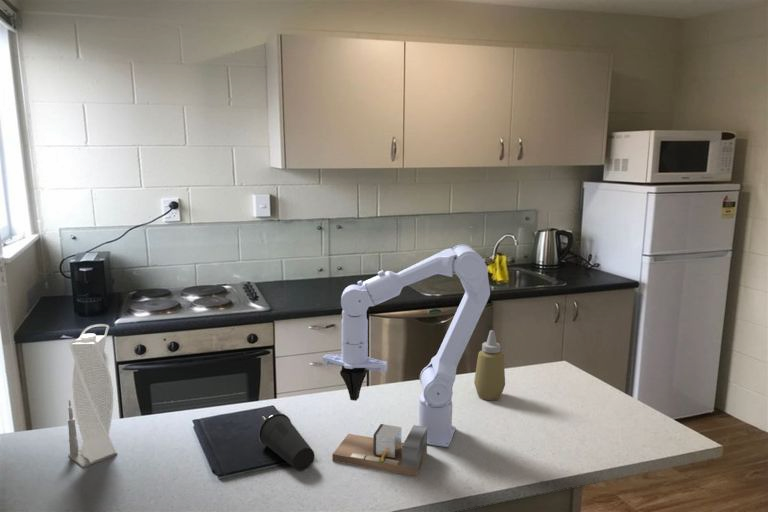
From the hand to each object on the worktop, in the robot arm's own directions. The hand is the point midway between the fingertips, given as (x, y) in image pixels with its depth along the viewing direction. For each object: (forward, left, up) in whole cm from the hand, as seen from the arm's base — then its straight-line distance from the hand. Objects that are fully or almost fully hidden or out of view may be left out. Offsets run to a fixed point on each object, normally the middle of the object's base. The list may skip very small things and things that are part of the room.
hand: (354, 398), depth 128 cm
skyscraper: (+24, -49, -10) cm, 55 cm away
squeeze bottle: (-32, +26, -10) cm, 42 cm away
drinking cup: (+16, -5, -7) cm, 18 cm away
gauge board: (+6, +8, -9) cm, 14 cm away
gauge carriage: (+7, +10, -8) cm, 14 cm away
